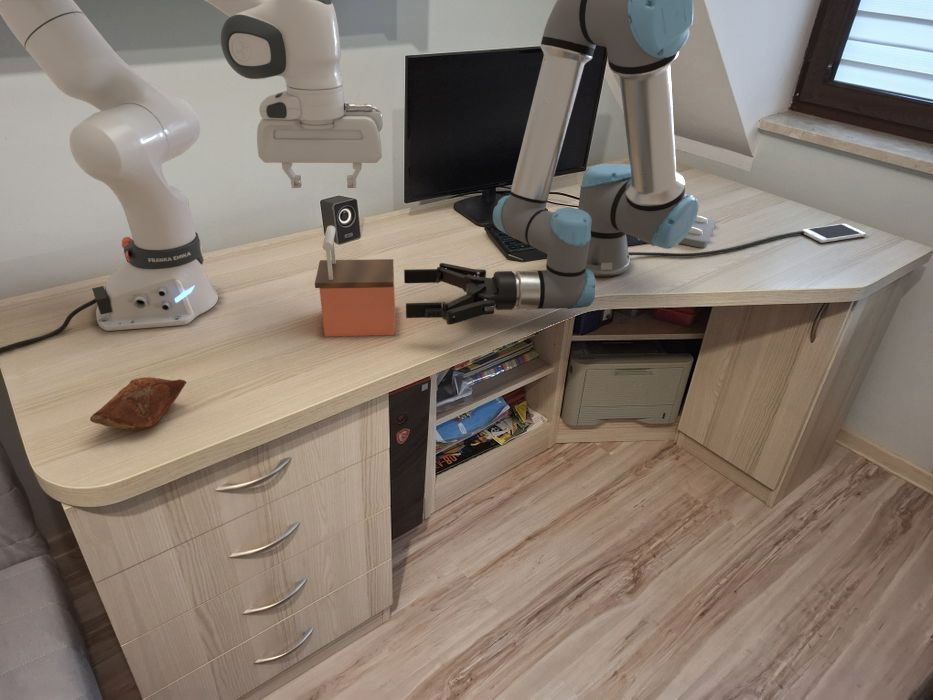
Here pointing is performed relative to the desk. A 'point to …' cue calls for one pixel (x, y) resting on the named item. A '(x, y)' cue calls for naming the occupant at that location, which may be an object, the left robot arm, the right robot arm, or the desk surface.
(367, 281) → the lid
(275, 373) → the desk surface
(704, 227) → the light switch
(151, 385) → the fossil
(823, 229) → the smartphone
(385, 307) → the chest
